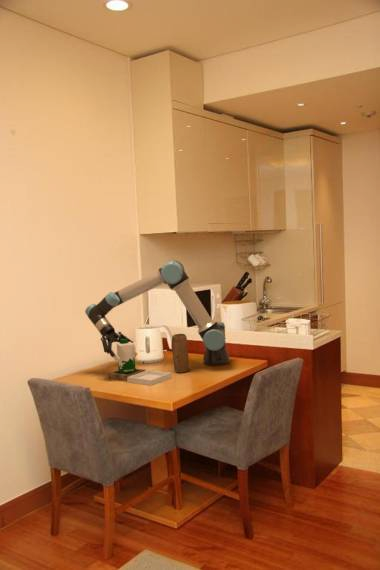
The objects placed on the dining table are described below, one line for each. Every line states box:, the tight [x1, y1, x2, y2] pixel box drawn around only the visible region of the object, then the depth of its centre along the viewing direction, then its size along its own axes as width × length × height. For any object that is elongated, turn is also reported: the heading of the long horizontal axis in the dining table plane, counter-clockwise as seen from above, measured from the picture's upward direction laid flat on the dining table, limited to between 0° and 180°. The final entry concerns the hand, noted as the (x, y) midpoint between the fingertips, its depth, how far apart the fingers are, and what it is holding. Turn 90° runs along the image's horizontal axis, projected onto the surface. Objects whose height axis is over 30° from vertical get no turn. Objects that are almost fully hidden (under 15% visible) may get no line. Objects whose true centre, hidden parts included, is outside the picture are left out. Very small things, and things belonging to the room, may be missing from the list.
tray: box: [126, 369, 173, 386], centre depth 279 cm, size 16×16×3 cm
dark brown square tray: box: [108, 368, 147, 382], centre depth 288 cm, size 14×14×3 cm
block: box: [171, 333, 190, 374], centre depth 293 cm, size 11×8×20 cm
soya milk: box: [116, 338, 137, 375], centre depth 287 cm, size 9×9×20 cm
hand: (127, 357), depth 286 cm, fingers open, 13 cm apart
